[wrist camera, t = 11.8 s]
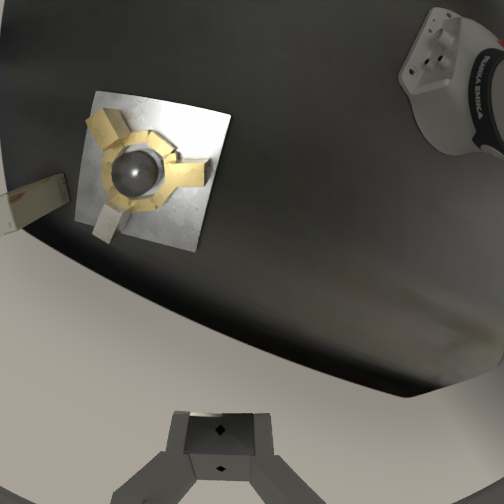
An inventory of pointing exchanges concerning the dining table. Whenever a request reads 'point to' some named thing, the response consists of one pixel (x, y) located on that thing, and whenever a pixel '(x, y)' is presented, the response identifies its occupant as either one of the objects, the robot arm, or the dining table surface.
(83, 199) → the housing
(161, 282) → the dining table surface
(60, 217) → the dining table surface
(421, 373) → the dining table surface
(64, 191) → the skincare box
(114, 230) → the ring nut
